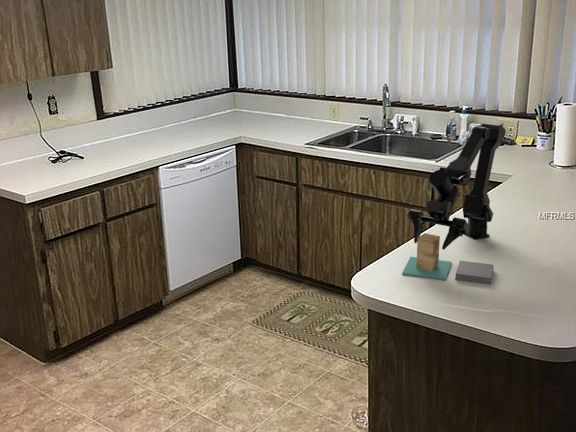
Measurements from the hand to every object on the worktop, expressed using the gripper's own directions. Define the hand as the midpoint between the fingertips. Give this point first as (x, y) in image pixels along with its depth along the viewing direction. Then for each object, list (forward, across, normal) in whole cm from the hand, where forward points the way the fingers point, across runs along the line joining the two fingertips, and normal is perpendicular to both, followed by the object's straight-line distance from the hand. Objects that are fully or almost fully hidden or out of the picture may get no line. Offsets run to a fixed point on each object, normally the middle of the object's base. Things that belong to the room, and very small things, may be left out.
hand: (428, 245), depth 194 cm
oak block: (+5, 0, +5) cm, 7 cm away
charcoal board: (+3, +14, +8) cm, 16 cm away
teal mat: (+6, 0, +5) cm, 8 cm away
